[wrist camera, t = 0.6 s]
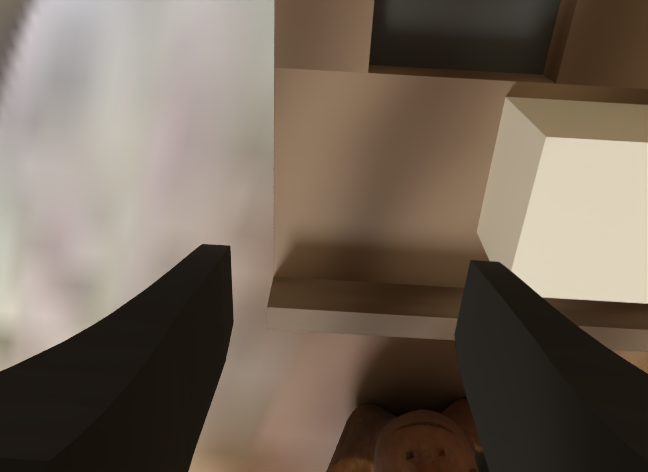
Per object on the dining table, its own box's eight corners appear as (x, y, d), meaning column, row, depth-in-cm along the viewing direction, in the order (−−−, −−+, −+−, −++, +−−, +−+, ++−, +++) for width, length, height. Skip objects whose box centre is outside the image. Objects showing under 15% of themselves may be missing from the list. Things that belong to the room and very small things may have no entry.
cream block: (660, 105, 17) (739, 148, 14) (612, 240, 20) (669, 304, 16) (505, 96, 17) (546, 136, 14) (476, 232, 20) (505, 294, 16)
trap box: (1064, -33, 16) (1229, -26, 13) (843, 310, 23) (921, 368, 20) (280, -76, 17) (265, -79, 13) (277, 276, 23) (267, 329, 20)
